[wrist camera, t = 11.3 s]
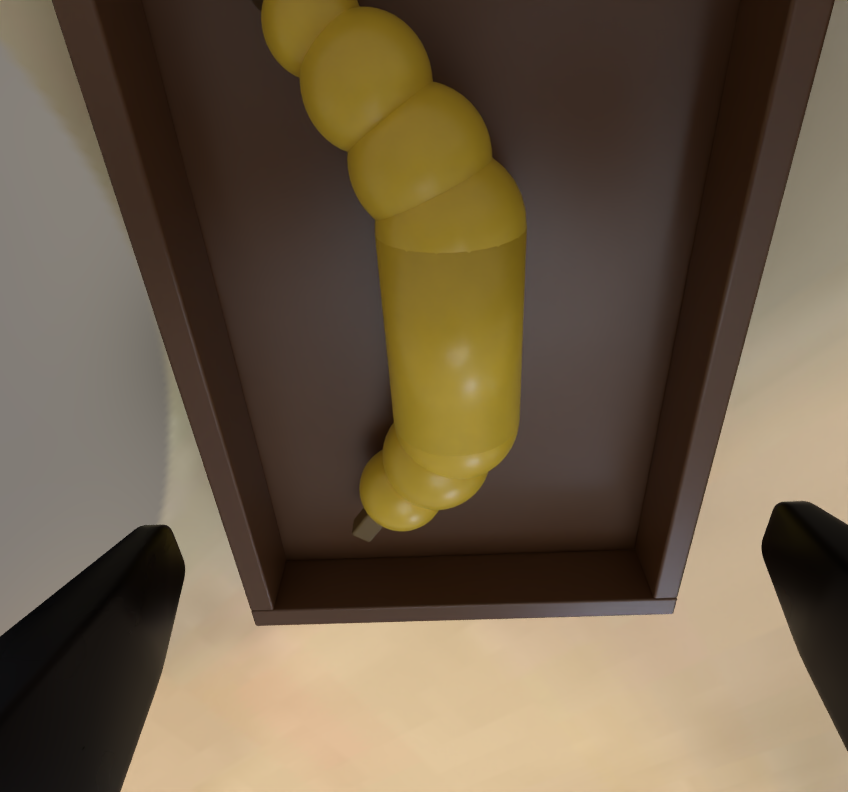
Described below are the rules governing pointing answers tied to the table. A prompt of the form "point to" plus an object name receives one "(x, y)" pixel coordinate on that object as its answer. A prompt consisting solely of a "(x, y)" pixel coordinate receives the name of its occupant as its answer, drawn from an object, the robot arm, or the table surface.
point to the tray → (543, 296)
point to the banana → (420, 250)
